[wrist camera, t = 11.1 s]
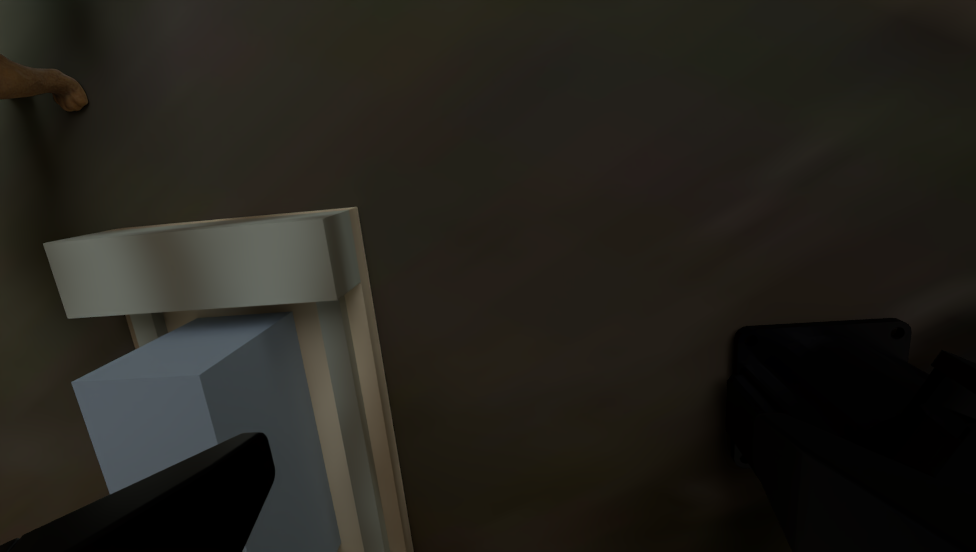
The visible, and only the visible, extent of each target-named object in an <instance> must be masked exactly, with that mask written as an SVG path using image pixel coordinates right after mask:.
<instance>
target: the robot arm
mask: <svg viewBox="0 0 976 552" xmlns="http://www.w3.org/2000/svg"><path fill="white" fill-rule="evenodd" d="M894 328H897V332H896V333H895V334H894V335H891V332H892V330H893V329H894ZM750 335H753V336H754V337H753V340H752V341H751V342H749V343H745V339H746V338H747V337H748V336H750ZM910 340H911V327H910V326H909V324H907V323H905V322H903V321H901V320H899V319H896V318H883V319H865V320H847V321H829V322H811V323H794V324H776V325H758V326H746V327H742V328H741V329H739V330H738V331H737V332H736V334H735V338H734V366H733V375H731V376H730V378H729V379H728V380H727V402H726V432H727V433H728V435H729V436H730V438H731V457H732V459H733V460H734V462H735V463H736V465H737V466H739V467H741V468H752V470H753V471H754V473H755V474H756V476H757V477H758V478H759V480H760V481H761V483H762V486H763V488H764V490H765V492H766V494H767V497H768V499H769V501H770V503H771V506H772V508H773V510H774V512H775V514H776V517H777V519H778V521H779V523H780V525H781V528H782V530H783V532H784V534H785V537H786V539H787V541H788V543H789V545H790V547H791V549H792V551H793V552H976V363H974V362H972V361H969V360H967V359H964V358H962V357H959V356H957V355H954V354H952V353H949V352H947V351H944V350H941V352H940V353H939V355H938V356H937V357H936V359H935V360H934V362H933V363H932V364H931V366H933V367H934V369H933V371H932V372H931V373H930V375H929V374H927V373H925V372H923V371H922V370H920V369H918V368H916V367H915V366H913V365H911V364H909V363H908V355H909V348H910ZM742 455H743V457H744V458H740V457H741V456H742ZM274 479H275V466H274V461H273V457H272V453H271V449H270V445H269V440H268V437H267V436H266V435H265V434H264V433H262V432H248V433H241V434H239V435H237V436H235V437H233V438H230V439H228V440H226V441H224V442H222V443H220V444H217V445H215V446H213V447H211V448H209V449H207V450H205V451H202V452H200V453H198V454H196V455H194V456H192V457H190V458H187V459H185V460H183V461H181V462H179V463H177V464H175V465H172V466H170V467H168V468H166V469H164V470H162V471H160V472H157V473H155V474H153V475H151V476H149V477H147V478H144V479H142V480H140V481H138V482H136V483H134V484H132V485H129V486H127V487H125V488H123V489H121V490H119V491H117V492H114V493H112V494H110V495H108V496H106V497H104V498H102V499H99V500H97V501H95V502H93V503H91V504H89V505H87V506H84V507H82V508H80V509H78V510H76V511H74V512H72V513H69V514H67V515H65V516H63V517H61V518H59V519H56V520H54V521H52V522H50V523H48V524H46V525H44V526H41V527H39V528H37V529H35V530H33V531H31V532H29V533H26V534H24V535H23V536H22V537H21V538H20V539H19V538H16V539H13V540H11V541H9V542H7V543H5V544H3V545H0V552H242V551H243V549H244V547H245V545H246V543H247V541H248V538H249V536H250V534H251V532H252V530H253V527H254V525H255V523H256V521H257V518H258V516H259V514H260V512H261V510H262V507H263V505H264V503H265V501H266V498H267V496H268V494H269V492H270V490H271V487H272V485H273V483H274Z"/></svg>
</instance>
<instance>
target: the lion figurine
mask: <svg viewBox="0 0 976 552" xmlns="http://www.w3.org/2000/svg"><path fill="white" fill-rule="evenodd" d="M43 93H52V95H53V98H54V100H55V102H56V103H57V104H59V105H60V106H61V107H62V108H63V109H64V110H66V111H70V112H71V111H74V110H76V111H78V110H80V109H82V107H83V106H85V105H87V104H88V99H87V96H86V93H85V91H84V90H83V88H82V87H81V85H80V84H79V83H78V82H77V81H76V80H75V79H73V78H72V77H69V76H67V75H65V74H63V73H62V72H61V71H59V70H57V69H42V68H31V67H27V66H24V65H21V64H18V63H16V62H13V61H11V60H9V59H7V58H6V57H4V56H3V55H2V54H0V99H11V98H21V97H30V96H35V95H38V94H43Z"/></svg>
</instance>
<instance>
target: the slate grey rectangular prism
mask: <svg viewBox="0 0 976 552" xmlns="http://www.w3.org/2000/svg"><path fill="white" fill-rule="evenodd" d="M71 383H72V386H73V389H74V391H75V394H76V397H77V400H78V403H79V406H80V409H81V412H82V415H83V417H84V420H85V423H86V426H87V429H88V432H89V435H90V438H91V441H92V443H93V446H94V449H95V452H96V455H97V458H98V461H99V464H100V467H101V470H102V472H103V475H104V478H105V481H106V484H107V487H108V490H109V493H110V494H112V493H114V492H117V491H119V490H121V489H123V488H125V487H127V486H129V485H132V484H134V483H136V482H138V481H140V480H142V479H144V478H147V477H149V476H151V475H153V474H155V473H157V472H160V471H162V470H164V469H166V468H168V467H170V466H172V465H175V464H177V463H179V462H181V461H183V460H185V459H187V458H190V457H192V456H194V455H196V454H198V453H200V452H202V451H205V450H207V449H209V448H211V447H213V446H215V445H217V444H220V443H222V442H224V441H226V440H228V439H230V438H233V437H235V436H237V435H239V434H241V433H248V432H262V433H264V434H265V435H266V436H267V437H268V440H269V445H270V449H271V453H272V457H273V461H274V466H275V479H274V483H273V485H272V487H271V490H270V492H269V494H268V496H267V498H266V501H265V503H264V505H263V507H262V510H261V512H260V514H259V516H258V518H257V521H256V523H255V525H254V527H253V530H252V532H251V534H250V536H249V538H248V541H247V543H246V545H245V547H244V549H243V551H242V552H337V551H338V549H339V546H340V544H341V539H340V534H339V529H338V525H337V520H336V515H335V511H334V506H333V501H332V496H331V492H330V487H329V482H328V477H327V473H326V468H325V463H324V459H323V454H322V449H321V444H320V440H319V435H318V430H317V425H316V421H315V416H314V411H313V407H312V402H311V397H310V392H309V388H308V383H307V378H306V374H305V369H304V364H303V359H302V355H301V350H300V345H299V340H298V336H297V331H296V326H295V322H294V317H293V312H292V311H291V312H277V313H263V314H248V315H234V316H219V317H205V318H196V319H194V320H193V321H191V322H189V323H187V324H185V325H183V326H181V327H179V328H177V329H175V330H173V331H171V332H169V333H167V334H165V335H163V336H161V337H159V338H157V339H155V340H153V341H151V342H149V343H147V344H145V345H143V346H141V347H140V348H138V349H136V350H134V351H132V352H130V353H128V354H126V355H124V356H122V357H120V358H118V359H116V360H114V361H112V362H110V363H108V364H106V365H104V366H102V367H100V368H98V369H96V370H94V371H92V372H90V373H88V374H87V375H85V376H83V377H81V378H79V379H77V380H75V381H73V382H71Z"/></svg>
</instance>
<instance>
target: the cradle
mask: <svg viewBox="0 0 976 552" xmlns="http://www.w3.org/2000/svg"><path fill="white" fill-rule="evenodd" d="M43 246H44V249H45V252H46V255H47V258H48V261H49V264H50V267H51V270H52V273H53V276H54V279H55V282H56V285H57V288H58V291H59V294H60V297H61V300H62V303H63V306H64V309H65V312H66V315H67V318H68V319H69V318H84V317H99V316H114V315H125V316H126V319H127V323H128V326H129V329H130V333H131V336H132V339H133V343H134V346H135V349H138V348H140V347H141V346H143V345H145V344H147V343H149V342H151V341H153V340H155V339H157V338H159V337H161V336H163V335H165V334H167V333H169V332H171V331H173V330H175V329H177V328H179V327H181V326H183V325H185V324H187V323H189V322H191V321H193V320H194V319H196V318H205V317H219V316H234V315H248V314H263V313H277V312H291V311H292V312H293V317H294V322H295V326H296V331H297V336H298V340H299V345H300V350H301V355H302V359H303V364H304V369H305V374H306V378H307V383H308V388H309V392H310V397H311V402H312V407H313V411H314V416H315V421H316V425H317V430H318V435H319V440H320V444H321V449H322V454H323V459H324V463H325V468H326V473H327V477H328V482H329V487H330V492H331V496H332V501H333V506H334V511H335V515H336V520H337V525H338V529H339V534H340V539H341V544H340V546H339V549H338V551H337V552H414V550H413V544H412V538H411V532H410V526H409V520H408V514H407V507H406V501H405V495H404V489H403V483H402V477H401V471H400V465H399V458H398V452H397V446H396V440H395V434H394V428H393V422H392V416H391V409H390V403H389V397H388V391H387V385H386V379H385V373H384V367H383V360H382V354H381V348H380V342H379V336H378V330H377V324H376V318H375V311H374V305H373V299H372V293H371V287H370V281H369V275H368V269H367V263H366V256H365V250H364V244H363V238H362V232H361V226H360V220H359V214H358V207H352V208H340V209H329V210H318V211H307V212H296V213H284V214H273V215H262V216H251V217H240V218H229V219H217V220H206V221H195V222H184V223H173V224H161V225H150V226H139V227H128V228H118V229H113V230H108V231H103V232H98V233H93V234H88V235H83V236H77V237H72V238H67V239H62V240H57V241H52V242H47V243H43Z"/></svg>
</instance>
